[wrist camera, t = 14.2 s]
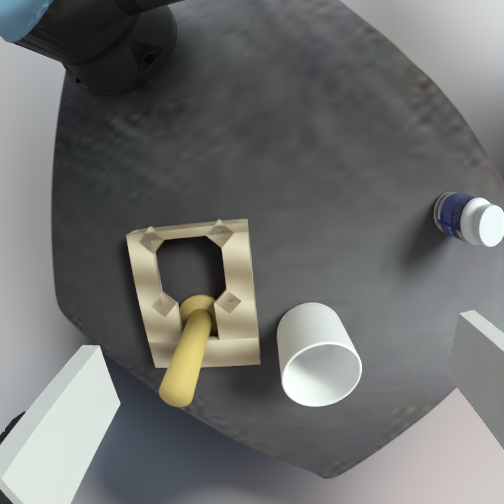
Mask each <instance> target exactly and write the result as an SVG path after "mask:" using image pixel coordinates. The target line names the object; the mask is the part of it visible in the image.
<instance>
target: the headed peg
mask: <svg viewBox="0 0 504 504" xmlns="http://www.w3.org/2000/svg"><path fill="white" fill-rule="evenodd" d="M215 300H216V298H214V297H213V296H210V295H207V294H194V295H191V296H189V297H188V298H186V299H185V300H184V301H183V303H182V304H181V306H180V308H179V311H180V316H181V321H182V326H183V333H182V335H181V338H180V340H179V343H178V345H177V347H176V350H175V352H174V354H173V357H172V359H171V362H170V364H169V366H168V369H167V371H166V374H165V376H164V378H163V381H162V383H161V386H160V388H159V394H160V397H161V398H162V399H163V400H164V401H165V402H166V403H168V404H169V405H172V406H175V407H184V406H187V405H189V404H190V403H191V401H192V398H193V394H194V391H195V387H196V383H197V379H198V375H199V372H200V368H201V364H202V360H203V356H204V353H205V349H206V345H207V342H208V338H209V337H213V336H218V335H219V334H218V327H217V321H216V314H215V307H214V301H215Z"/></svg>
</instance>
